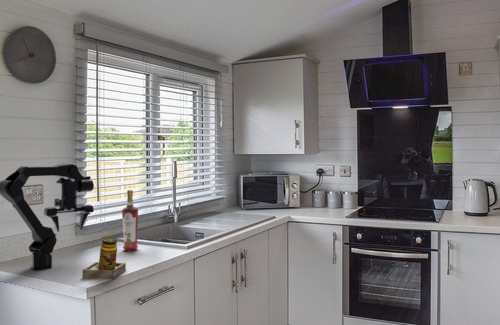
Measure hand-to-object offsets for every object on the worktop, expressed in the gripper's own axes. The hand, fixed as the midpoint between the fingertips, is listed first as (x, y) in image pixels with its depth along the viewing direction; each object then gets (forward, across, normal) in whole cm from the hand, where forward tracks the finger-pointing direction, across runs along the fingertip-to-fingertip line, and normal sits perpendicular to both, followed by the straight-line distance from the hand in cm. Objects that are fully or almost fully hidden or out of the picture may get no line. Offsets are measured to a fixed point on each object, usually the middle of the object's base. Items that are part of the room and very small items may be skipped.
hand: (69, 230), depth 189 cm
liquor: (+13, -28, -4) cm, 31 cm away
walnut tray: (+13, -6, +28) cm, 31 cm away
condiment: (+11, -6, +27) cm, 30 cm away
